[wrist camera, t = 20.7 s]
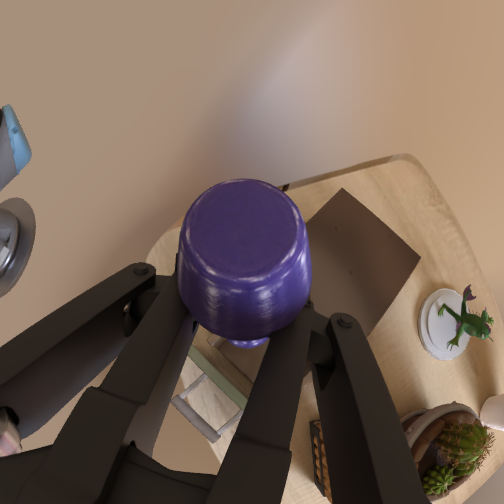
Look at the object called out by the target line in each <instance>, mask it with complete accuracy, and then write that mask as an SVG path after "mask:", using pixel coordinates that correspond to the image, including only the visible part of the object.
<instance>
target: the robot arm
mask: <svg viewBox="0 0 504 504" xmlns="http://www.w3.org/2000/svg"><path fill="white" fill-rule="evenodd" d="M31 154H32V153H31V149H30V146H29V144H28V141H27V139H26V136H25V134H24V132H23V130H22V127H21V125H20V123H19V121H18V119H17V117H16V114H15V112H14V110H13V109H12V107H11V106H10V105H6V106H3V107H2V109H0V191H1V190H2V189H3V188H4V187H5V186H6V185H7V184H8V183H9V182H10V181H11V180H12V179H13V178H14V177H15V176H16V175H18V174H19V172H20V171H21V170H22V169H23V168H24V167H25V166H26V164H27V163H29V161H30V158H31ZM19 236H20V225H19V221H18V219H17V217H16V216H15V215H14V214H13V213H12V212H11V211H9V210H7V209H4V208H0V275H2V274H3V273H4V271H5V270H6V269H7V268H8V266H9V264H10V263H11V261H12V259H13V257H14V255H15V252H16V249H17V246H18V242H19ZM177 260H178V253H177V254H176V263H175V272H174V273H173V274H172V276H163V275H156V269H155V267H154V266H152V265H150V264H147V263H142V262H139V263H134V264H131V265H129V266H127V267H126V268H124V269H122V270H120V271H119V272H117V273H115V274H114V275H112V276H110V277H109V278H107V279H105V280H104V281H102V282H100V283H99V284H97V285H95V286H94V287H92V288H90V289H89V290H87V291H85V292H84V293H82V294H81V295H79V296H77V297H76V298H74V299H73V300H71V301H69V302H68V303H66V304H65V305H63V306H61V307H60V308H58V309H57V310H55V311H54V312H52V313H51V314H49V315H47V316H46V317H44V318H43V319H41V320H40V321H38V322H37V323H35V324H34V325H33V326H31V327H29V328H28V329H26V330H25V331H23V332H22V333H20V334H19V335H17V336H16V337H14V338H13V339H12V340H10V341H9V342H7V343H6V344H4V345H3V346H2V347H0V504H280V503H281V500H282V496H283V492H284V488H285V484H286V480H287V476H288V472H289V468H290V463H291V458H292V451H290V450H289V447H290V442H291V437H292V433H293V428H294V423H295V419H296V414H297V409H298V404H299V399H300V393H301V388H302V382H303V377H304V371H305V365H306V360H308V361H310V362H311V365H310V367H311V372H312V377H313V383H314V389H315V394H316V400H317V406H318V411H319V417H320V423H321V429H322V436H323V442H324V448H325V455H326V461H327V468H328V475H329V482H330V489H331V497H332V504H432V503H431V502H430V500H429V499H428V497H427V496H426V495H425V493H424V490H423V487H422V484H421V480H420V477H419V474H418V471H417V468H416V465H415V462H414V459H413V456H412V453H411V450H410V447H409V444H408V441H407V438H406V435H405V433H404V430H403V427H402V424H401V422H400V419H399V416H398V414H397V411H396V408H395V406H394V403H393V401H392V398H391V395H390V393H389V390H388V388H387V385H386V383H385V381H384V378H383V376H382V373H381V371H380V369H379V366H378V364H377V361H376V359H375V357H374V354H373V352H372V350H371V348H370V345H369V343H368V341H367V339H366V336H365V334H364V332H363V330H362V327H361V325H360V323H359V322H358V320H357V319H355V318H354V317H353V316H351V315H349V314H347V313H342V312H336V313H333V314H332V315H331V316H330V318H327V317H325V316H323V315H321V314H319V313H318V312H316V311H315V310H314V303H313V302H312V301H311V300H310V294H309V296H308V298H307V301H306V303H305V305H304V307H303V309H302V310H301V312H300V313H299V314H298V316H297V317H296V318H295V319H294V320H293V321H292V322H291V323H290V324H288V325H287V326H286V327H284V328H282V329H279V330H276V331H273V332H272V334H271V336H269V337H267V338H270V340H269V343H268V346H267V349H266V352H265V354H264V357H263V360H262V363H261V366H260V368H259V371H258V374H257V377H256V379H255V382H254V385H253V388H252V390H251V393H250V396H249V398H248V401H247V404H246V406H245V409H244V411H243V414H242V417H241V419H240V422H239V424H238V427H237V429H236V432H235V434H234V436H233V438H232V440H231V443H230V445H229V447H228V450H227V452H226V455H225V457H224V460H223V462H222V464H221V467H220V469H219V472H218V474H217V475H213V474H203V473H190V472H181V471H173V470H170V469H167V468H166V467H164V466H163V465H161V464H160V463H158V462H156V461H155V460H154V459H152V453H153V448H154V444H155V442H156V439H157V436H158V433H159V430H160V427H161V425H162V422H163V419H164V417H165V414H166V411H167V408H168V406H169V403H170V400H171V397H172V395H173V392H174V389H175V386H176V384H177V381H178V379H179V376H180V373H181V371H182V368H183V365H184V363H185V360H186V358H187V355H188V352H189V350H190V347H191V344H192V342H193V339H194V337H195V334H196V331H197V329H198V326H199V323H198V322H197V321H196V320H195V319H194V318H193V317H192V316H191V314H190V312H189V309H188V308H187V307H186V305H185V304H184V302H183V300H182V298H181V296H180V292H179V289H178V281H177ZM126 305H128V308H126V309H125V310H124V308H125V306H126ZM116 357H117V359H116V361H115V362H114V364H113V366H112V367H111V369H110V371H109V372H108V374H107V375H106V377H105V379H104V380H103V382H102V384H101V385H100V386H99V387H97V388H96V387H93V386H91V387H89V388H87V389H86V390H85V392H84V393H83V394H82V396H81V398H80V399H79V401H78V402H77V404H76V406H75V407H74V409H73V411H72V412H71V414H70V416H69V417H68V419H67V421H66V422H65V424H64V426H63V428H62V429H61V431H60V433H59V434H58V436H57V438H56V440H55V441H54V443H53V444H52V445H48V446H45V447H41V448H37V449H34V450H29V451H25V452H22V446H21V444H20V442H21V439H24V438H26V437H28V436H29V435H31V434H33V433H34V432H36V431H37V430H38V429H40V428H41V427H42V426H43V425H44V424H46V423H47V422H48V421H49V420H50V419H51V418H52V417H53V416H54V415H55V414H56V413H57V412H58V411H59V410H61V408H63V407H64V406H65V405H66V404H67V403H68V402H69V401H70V400H71V399H72V398H73V397H74V396H76V395H77V393H79V392H80V391H81V390H82V389H83V388H84V387H85V386H86V385H87V384H88V383H89V382H90V381H92V380H93V379H94V378H95V377H96V376H97V375H98V374H99V373H100V372H101V371H102V370H103V369H105V368H106V366H108V365H109V364H110V363H111V362H112V361H113V360H114V359H115V358H116Z"/></svg>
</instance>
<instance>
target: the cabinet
mask: <svg viewBox="0 0 504 504" xmlns="http://www.w3.org/2000/svg"><path fill="white" fill-rule="evenodd" d="M305 225H306V229H307V234H308V240H309V248H310V255H311V263H312V283H311V289H310V300H311V301H312V302H313V303H314V310H315V311H316V312H318V313H319V314H321V315H323V316H325V317H327V318H330V316H331V315H332V314H333V313H336V312H342V313H347V314H349V315H351V316H353V317H354V318H355V319H357V320H358V322H359V323H360V325H361V327H362V330H363V332H364V334H365V336H366V338H367V336H368V335H369V334H370V332H371V331H372V330H373V328H374V327H375V326H376V324H377V323H378V322H379V320H380V319H381V318H382V316H383V315H384V313H385V312H386V311H387V309H388V308H389V306H390V305H391V304H392V302H393V301H394V299H395V298H396V296H397V295H398V293H399V292H400V290H401V289H402V287H403V286H404V284H405V283H406V281H407V280H408V278H409V277H410V275H411V273H412V272H413V270H414V269H415V267H416V265H417V264H418V262H419V261H420V259H421V257H420V256H419V255H418V254H417V253H416V252H415V251H414V250H413V249H412V248H411V247H410V246H409V245H408V244H406V243H405V242H404V241H403V240H402V239H401V238H400V237H399V236H398V235H397V234H396V233H395V232H394V231H392V230H391V229H390V228H389V227H388V226H387V225H386V224H385V223H384V222H382V221H381V220H380V219H379V218H378V217H377V216H376V215H374V214H373V213H372V212H371V211H370V210H369V209H367V208H366V207H365V206H364V205H363V204H362V203H360V202H359V201H358V200H357V199H356V198H354V197H353V196H352V195H351V194H349V193H348V192H347V191H346V190H344V189H343V188H341V189H340V190H339V191H338V192H337V193H336V194H335V195H334V196H333V197H332V198H331V199H330V200H329V201H328V202H327V203H326V204H325V205H324V206H323V207H322V208H321V209H320V210H319V211H318V212H317V213H316V214H315V215H314V216H313V217H312V218H311V219H310V220H309V221H308V222H307V223H306V224H305Z"/></svg>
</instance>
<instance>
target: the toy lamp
mask: <svg viewBox="0 0 504 504" xmlns="http://www.w3.org/2000/svg"><path fill="white" fill-rule="evenodd" d="M177 281H178V289H179V292H180V296H181V298H182V300H183V302H184V304H185V305H186V307H187V308H188V309H189V312H190V314H191V316H192V317H193V318H194V319H195V320H196V321H197V322H198V323H199V324H200V325H201V326H203V327H204V328H205V329H207V330H208V331H210V332H211V333H213V334H216V335H218V336H220V337H223V338H226V339H227V341H228V342H230V343H231V344H233V345H235V346H237V347H240V348H254V347H257V346H259V345H261V344H263V343H264V342H265V341H267V340H268V338H267V337H269V336H271V334H272V332H273V331H276V330H279V329H282V328H284V327H286V326H287V325H288V324H290V323H291V322H292V321H293V320H294V319H295V318H296V317H297V316H298V314H299V313H300V312H301V310H302V309H303V307H304V305H305V303H306V301H307V298H308V296H309V294H310V289H311V283H312V263H311V255H310V248H309V240H308V234H307V229H306V225H305V222H304V220H303V217H302V215H301V212H300V211H299V209H298V207H297V206H296V204H295V203H294V202H293V201H292V199H291V198H290V197H289V196H287V195H286V194H285V193H284V192H283V191H282V190H280V189H278V188H276V187H275V186H273V185H271V184H269V183H266V182H263V181H260V180H254V179H234V180H229V181H226V182H222V183H219V184H217V185H215V186H213V187H211V188H209V189H208V190H206V191H205V192H204V193H202V194H201V195H200V196H199V197H198V198H197V199H196V200H195V201H194V203H193V204H192V205H191V207H190V208H189V210H188V211H187V213H186V215H185V218H184V221H183V224H182V227H181V231H180V237H179V246H178V260H177Z"/></svg>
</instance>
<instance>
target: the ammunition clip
mask: <svg viewBox="0 0 504 504" xmlns="http://www.w3.org/2000/svg"><path fill="white" fill-rule="evenodd" d="M309 423H310V432H311V442H312V453H313V464H314V476H315V485H316V486H317V488H318V489H319V491H320V492H321V494H322V495H323V496H324V497H327V499H328V500H329V501H330V503H332V497H331V489H330V482H329V475H328V468H327V461H326V455H325V448H324V442H323V436H322V429H321V423H320V420H315V421H310V422H309Z"/></svg>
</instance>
